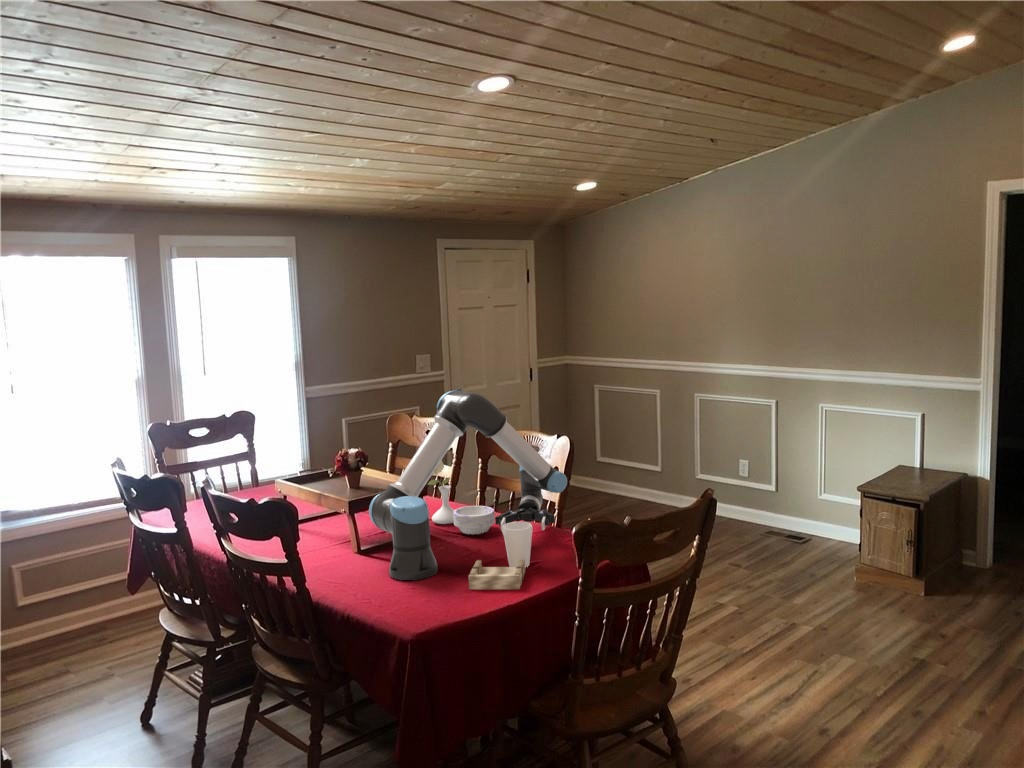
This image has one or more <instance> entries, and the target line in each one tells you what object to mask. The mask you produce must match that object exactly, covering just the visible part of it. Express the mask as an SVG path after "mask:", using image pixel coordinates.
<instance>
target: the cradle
mask: <svg viewBox="0 0 1024 768" xmlns="http://www.w3.org/2000/svg"><path fill="white" fill-rule="evenodd" d="M525 573H526V568H525V562H524V560H519V563H518V566H517V567H510V566H483V565H482V560H481V559H477V560H476V561H475V563H474V565H473V567H471V569H470V573H469V574H468V577H467V578H468V589H469V590H520V589H521V587H520V586H522V583H523V581H524V576H525ZM522 580H523V581H522Z"/></svg>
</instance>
